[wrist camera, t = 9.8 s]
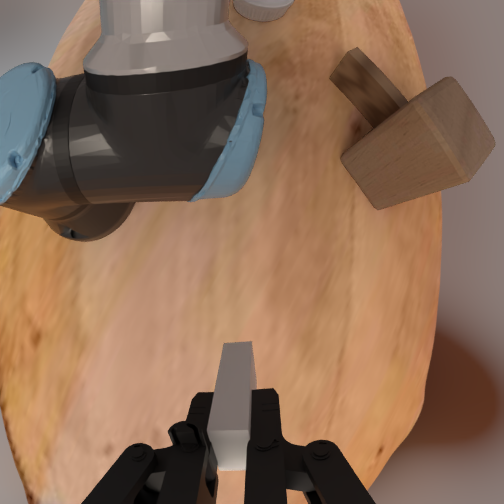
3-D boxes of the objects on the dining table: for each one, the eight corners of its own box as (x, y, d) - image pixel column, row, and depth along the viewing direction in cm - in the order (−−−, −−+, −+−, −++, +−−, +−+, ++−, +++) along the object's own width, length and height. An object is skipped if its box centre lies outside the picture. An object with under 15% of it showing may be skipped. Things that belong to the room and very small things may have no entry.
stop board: (329, 78, 42) (347, 51, 34) (338, 73, 43) (357, 47, 35) (413, 181, 44) (444, 168, 36) (420, 173, 44) (451, 160, 36)
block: (335, 159, 42) (414, 96, 22) (375, 130, 43) (453, 71, 23) (375, 213, 42) (471, 184, 22) (411, 180, 44) (500, 144, 24)
